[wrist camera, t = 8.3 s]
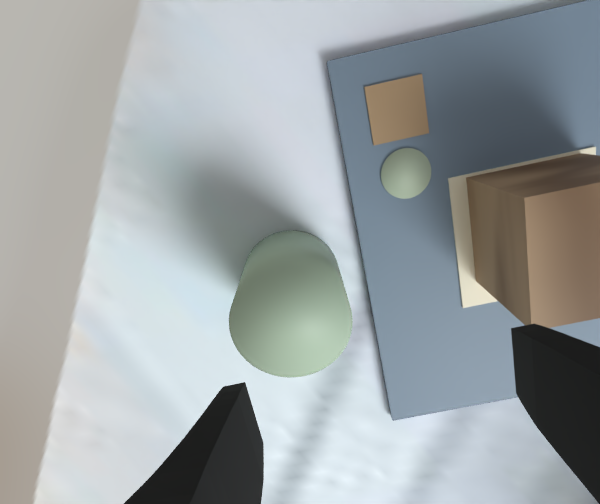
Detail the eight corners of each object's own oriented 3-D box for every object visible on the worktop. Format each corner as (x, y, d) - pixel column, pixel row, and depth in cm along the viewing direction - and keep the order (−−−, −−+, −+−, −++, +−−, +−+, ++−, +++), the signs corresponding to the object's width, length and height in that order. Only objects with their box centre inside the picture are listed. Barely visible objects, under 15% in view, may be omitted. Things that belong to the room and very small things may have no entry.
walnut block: (580, 153, 19) (679, 165, 14) (582, 259, 20) (672, 304, 15) (466, 177, 19) (524, 197, 14) (475, 281, 20) (531, 331, 16)
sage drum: (329, 221, 20) (340, 253, 15) (346, 309, 21) (361, 364, 16) (233, 241, 20) (214, 280, 15) (257, 327, 22) (246, 387, 17)
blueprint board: (695, -24, 17) (707, -28, 17) (674, 362, 22) (682, 367, 22) (326, 62, 18) (327, 60, 17) (391, 415, 23) (393, 421, 23)
